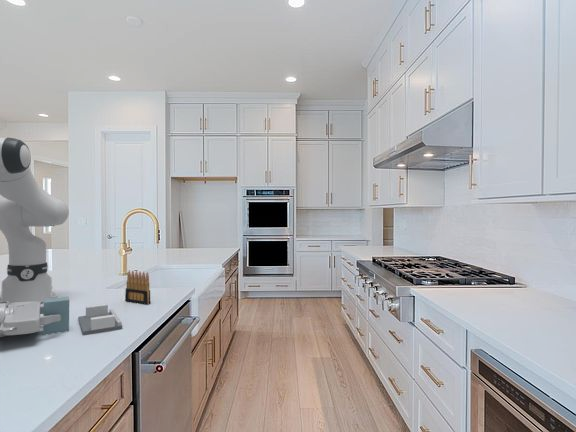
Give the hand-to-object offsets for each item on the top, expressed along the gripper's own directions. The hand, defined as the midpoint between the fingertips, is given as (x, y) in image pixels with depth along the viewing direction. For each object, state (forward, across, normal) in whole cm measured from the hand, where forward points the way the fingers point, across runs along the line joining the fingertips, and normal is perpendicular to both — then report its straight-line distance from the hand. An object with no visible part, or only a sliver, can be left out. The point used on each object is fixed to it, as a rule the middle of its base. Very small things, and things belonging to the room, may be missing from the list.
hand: (60, 312), depth 99 cm
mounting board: (+10, 0, +5) cm, 11 cm away
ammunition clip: (+25, +20, +5) cm, 32 cm away
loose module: (-1, 0, +5) cm, 5 cm away
